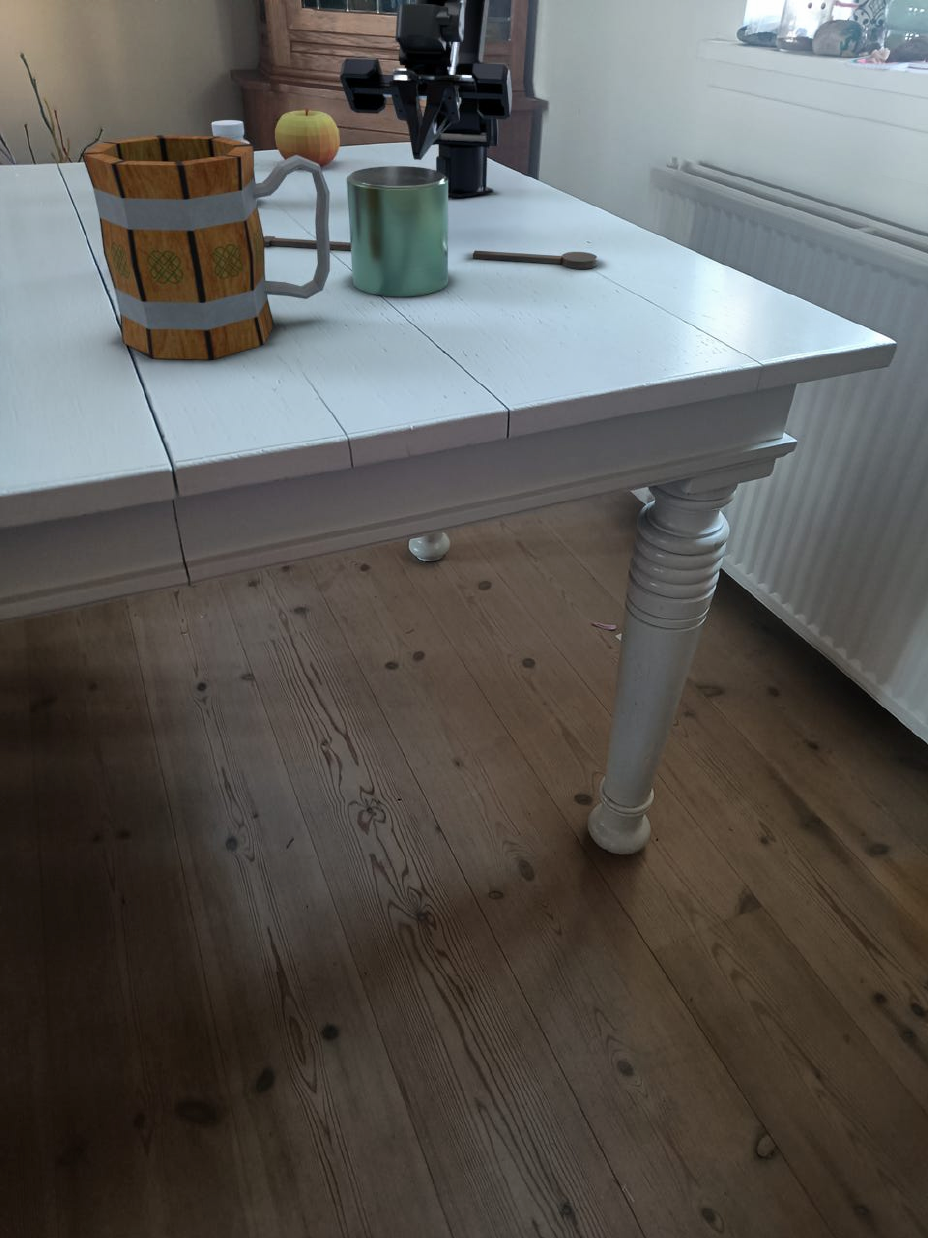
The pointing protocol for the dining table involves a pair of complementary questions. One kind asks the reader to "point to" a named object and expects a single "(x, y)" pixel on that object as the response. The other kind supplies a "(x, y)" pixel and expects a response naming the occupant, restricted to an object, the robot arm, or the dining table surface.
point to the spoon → (543, 258)
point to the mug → (193, 242)
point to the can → (398, 230)
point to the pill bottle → (230, 131)
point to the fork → (303, 243)
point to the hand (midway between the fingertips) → (416, 157)
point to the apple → (308, 136)
